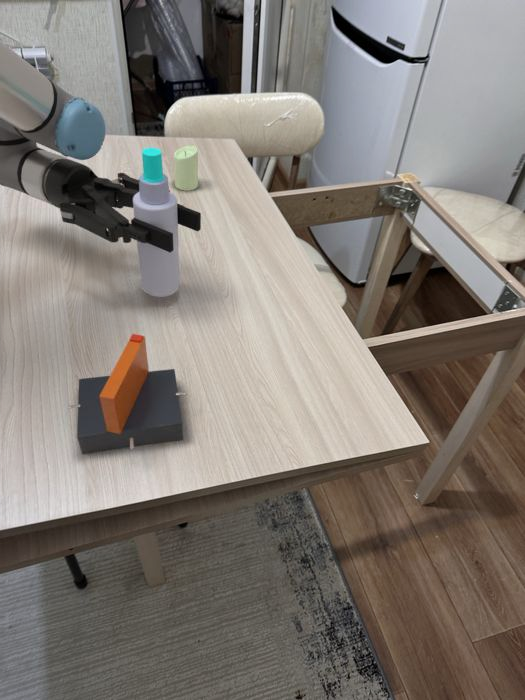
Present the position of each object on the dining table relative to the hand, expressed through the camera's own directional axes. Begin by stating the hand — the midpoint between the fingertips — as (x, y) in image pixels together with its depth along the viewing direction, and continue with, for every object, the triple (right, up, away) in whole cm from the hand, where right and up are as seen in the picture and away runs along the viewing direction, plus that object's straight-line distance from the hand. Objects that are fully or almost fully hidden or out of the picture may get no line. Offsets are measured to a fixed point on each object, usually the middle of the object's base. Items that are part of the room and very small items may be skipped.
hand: (185, 232), depth 68 cm
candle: (-6, +20, +39) cm, 44 cm away
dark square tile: (-6, -25, -6) cm, 27 cm away
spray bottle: (-6, -6, +10) cm, 13 cm away
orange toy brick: (-6, -23, -9) cm, 25 cm away
